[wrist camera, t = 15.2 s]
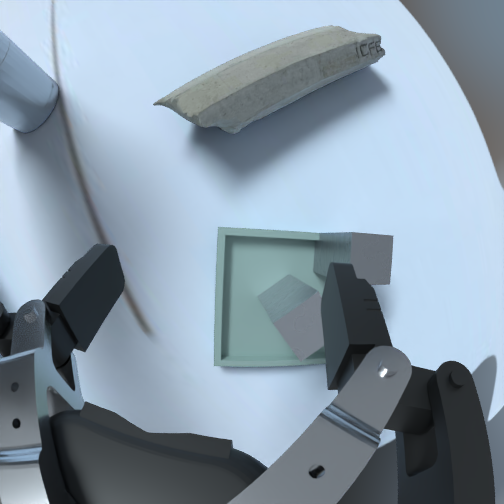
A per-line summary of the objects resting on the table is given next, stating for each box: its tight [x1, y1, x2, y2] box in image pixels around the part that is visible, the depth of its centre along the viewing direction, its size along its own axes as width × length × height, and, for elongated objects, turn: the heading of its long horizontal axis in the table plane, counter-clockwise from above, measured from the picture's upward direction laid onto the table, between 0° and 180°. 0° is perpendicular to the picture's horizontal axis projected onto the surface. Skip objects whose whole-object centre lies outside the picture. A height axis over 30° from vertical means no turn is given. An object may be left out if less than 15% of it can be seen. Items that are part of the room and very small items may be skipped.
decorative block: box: [153, 26, 385, 134], centre depth 27 cm, size 8×30×8 cm, turn 126°
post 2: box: [313, 232, 393, 285], centre depth 28 cm, size 4×4×10 cm
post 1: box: [257, 274, 324, 361], centre depth 27 cm, size 4×4×10 cm
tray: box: [214, 227, 326, 367], centre depth 31 cm, size 16×16×2 cm
